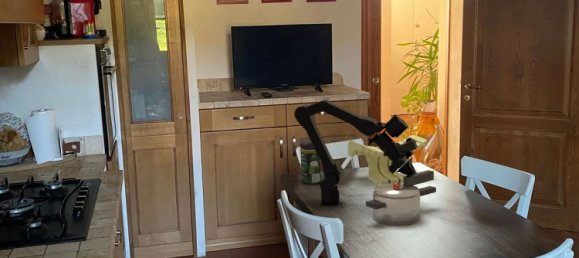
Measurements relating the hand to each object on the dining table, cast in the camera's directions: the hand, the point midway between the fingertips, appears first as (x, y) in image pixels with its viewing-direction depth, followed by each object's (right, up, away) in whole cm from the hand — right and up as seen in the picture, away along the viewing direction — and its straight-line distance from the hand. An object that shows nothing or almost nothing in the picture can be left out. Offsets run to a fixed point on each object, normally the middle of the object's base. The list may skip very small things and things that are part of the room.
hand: (417, 178), depth 212 cm
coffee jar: (-37, -5, +44) cm, 58 cm away
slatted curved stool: (-4, -4, +45) cm, 46 cm away
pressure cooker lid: (-5, -3, -6) cm, 8 cm away
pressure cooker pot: (-6, -13, -6) cm, 15 cm away
